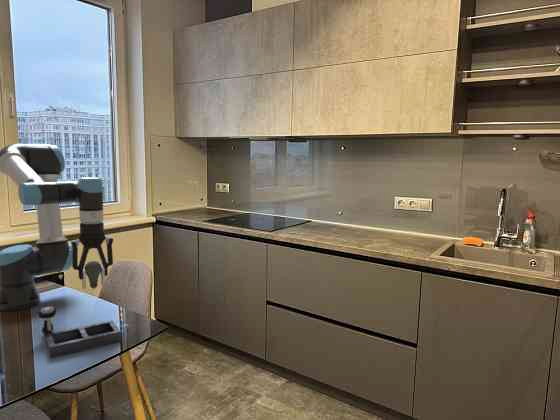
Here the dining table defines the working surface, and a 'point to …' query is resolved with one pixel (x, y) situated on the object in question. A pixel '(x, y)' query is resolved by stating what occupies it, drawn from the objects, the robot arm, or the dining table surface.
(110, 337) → the rectangular frame
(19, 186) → the robot arm
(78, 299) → the dining table surface
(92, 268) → the light bulb
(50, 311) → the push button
